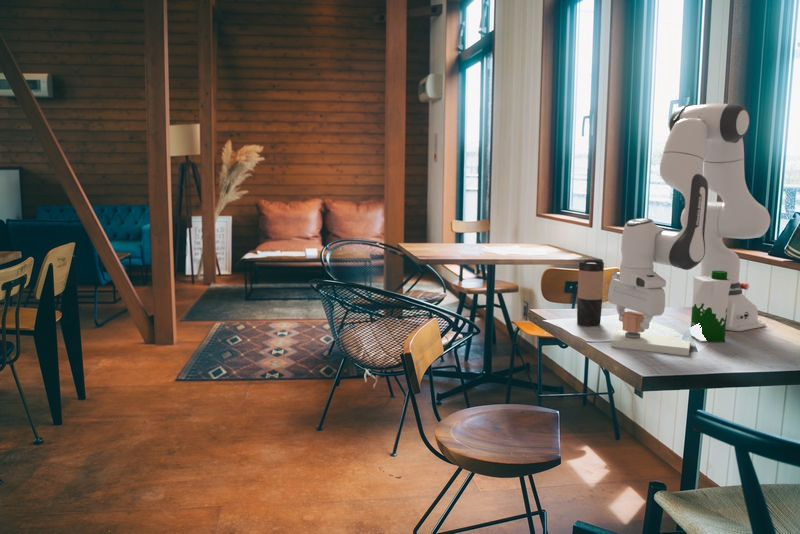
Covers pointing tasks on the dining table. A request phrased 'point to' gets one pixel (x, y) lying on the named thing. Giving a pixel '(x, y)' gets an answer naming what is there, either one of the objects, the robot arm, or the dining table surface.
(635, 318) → the cap
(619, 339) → the post board
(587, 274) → the travel mug
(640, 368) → the dining table surface
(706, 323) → the milk carton
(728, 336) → the dining table surface
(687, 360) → the dining table surface
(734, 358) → the dining table surface
